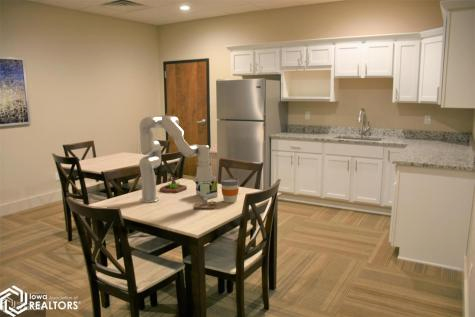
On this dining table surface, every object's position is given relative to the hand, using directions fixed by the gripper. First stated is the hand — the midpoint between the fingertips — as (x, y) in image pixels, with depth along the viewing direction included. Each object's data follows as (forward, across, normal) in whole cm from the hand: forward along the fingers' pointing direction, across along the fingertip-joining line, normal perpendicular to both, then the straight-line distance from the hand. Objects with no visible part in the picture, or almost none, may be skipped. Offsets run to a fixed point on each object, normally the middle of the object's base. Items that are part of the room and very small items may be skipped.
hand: (205, 190), depth 250 cm
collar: (+1, 0, -2) cm, 2 cm away
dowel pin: (+10, +4, -3) cm, 11 cm away
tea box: (+11, 0, +27) cm, 29 cm away
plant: (+11, -28, +47) cm, 56 cm away
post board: (+11, 0, 0) cm, 11 cm away
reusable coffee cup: (+11, +16, +12) cm, 23 cm away
